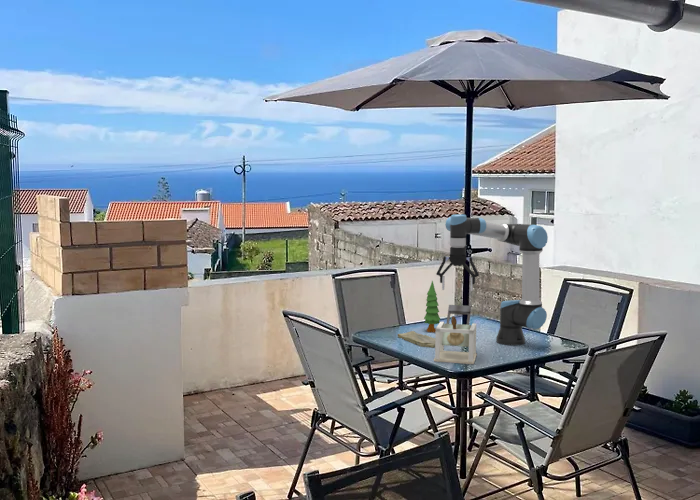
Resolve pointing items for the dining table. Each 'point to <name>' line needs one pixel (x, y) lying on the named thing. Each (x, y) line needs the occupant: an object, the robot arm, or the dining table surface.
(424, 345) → the stone slab
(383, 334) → the dining table surface
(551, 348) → the dining table surface
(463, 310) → the trapdoor
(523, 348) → the dining table surface
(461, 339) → the hand bell
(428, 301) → the decorative tree
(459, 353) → the frame
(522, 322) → the robot arm
